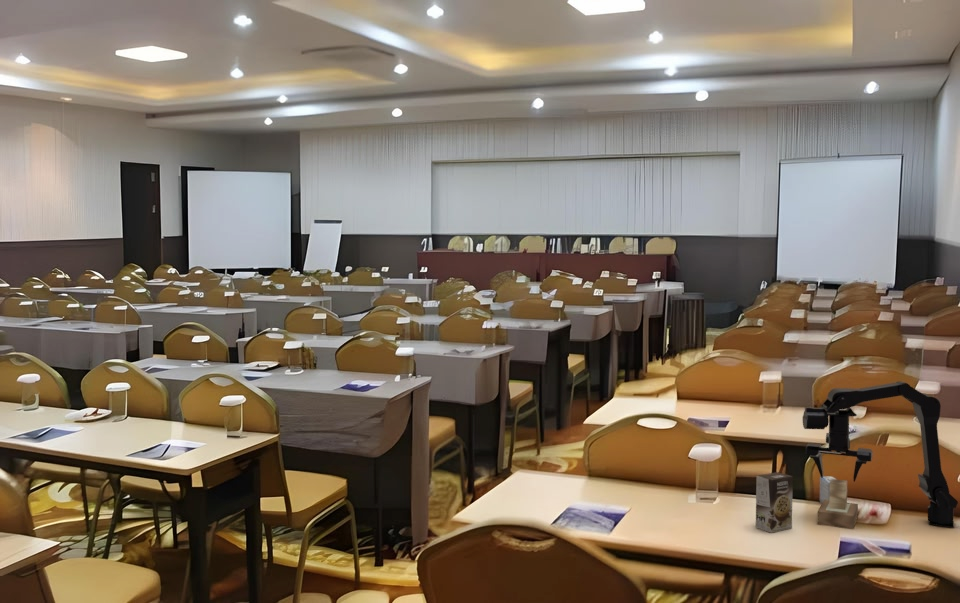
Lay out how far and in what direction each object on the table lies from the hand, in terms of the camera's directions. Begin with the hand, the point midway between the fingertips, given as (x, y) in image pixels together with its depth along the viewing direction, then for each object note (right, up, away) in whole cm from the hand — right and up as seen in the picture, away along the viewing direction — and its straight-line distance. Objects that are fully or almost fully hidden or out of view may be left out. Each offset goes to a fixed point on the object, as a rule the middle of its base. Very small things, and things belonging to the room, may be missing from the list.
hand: (838, 479), depth 254 cm
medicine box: (+5, -12, +17) cm, 21 cm away
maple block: (0, -9, 0) cm, 9 cm away
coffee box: (-22, -14, -6) cm, 27 cm away
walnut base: (0, -13, +1) cm, 13 cm away
